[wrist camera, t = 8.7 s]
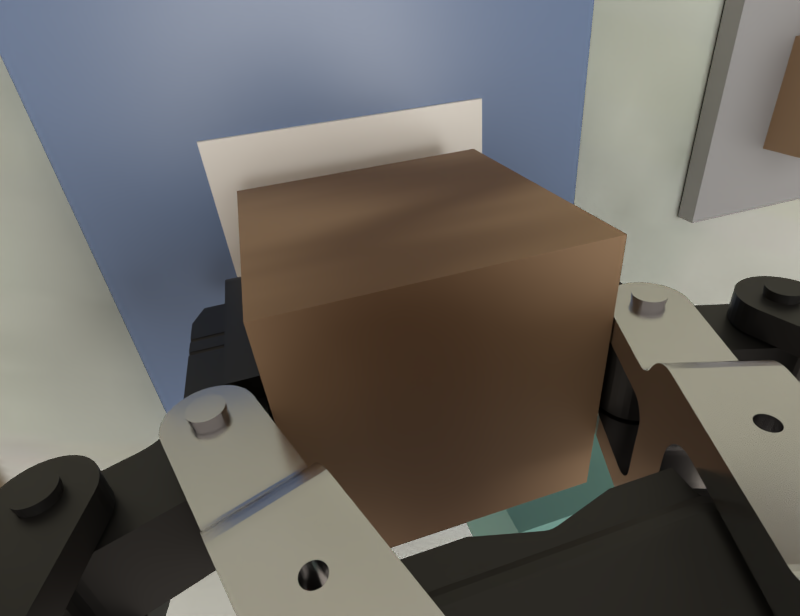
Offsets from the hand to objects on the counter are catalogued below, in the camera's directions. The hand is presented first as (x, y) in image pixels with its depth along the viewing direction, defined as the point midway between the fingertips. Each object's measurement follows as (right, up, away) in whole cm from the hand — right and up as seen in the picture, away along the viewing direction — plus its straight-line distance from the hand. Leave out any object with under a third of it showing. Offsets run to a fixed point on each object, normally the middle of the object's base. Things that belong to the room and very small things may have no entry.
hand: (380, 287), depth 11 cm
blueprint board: (-1, +1, +2) cm, 3 cm away
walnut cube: (0, 0, 0) cm, 0 cm away
